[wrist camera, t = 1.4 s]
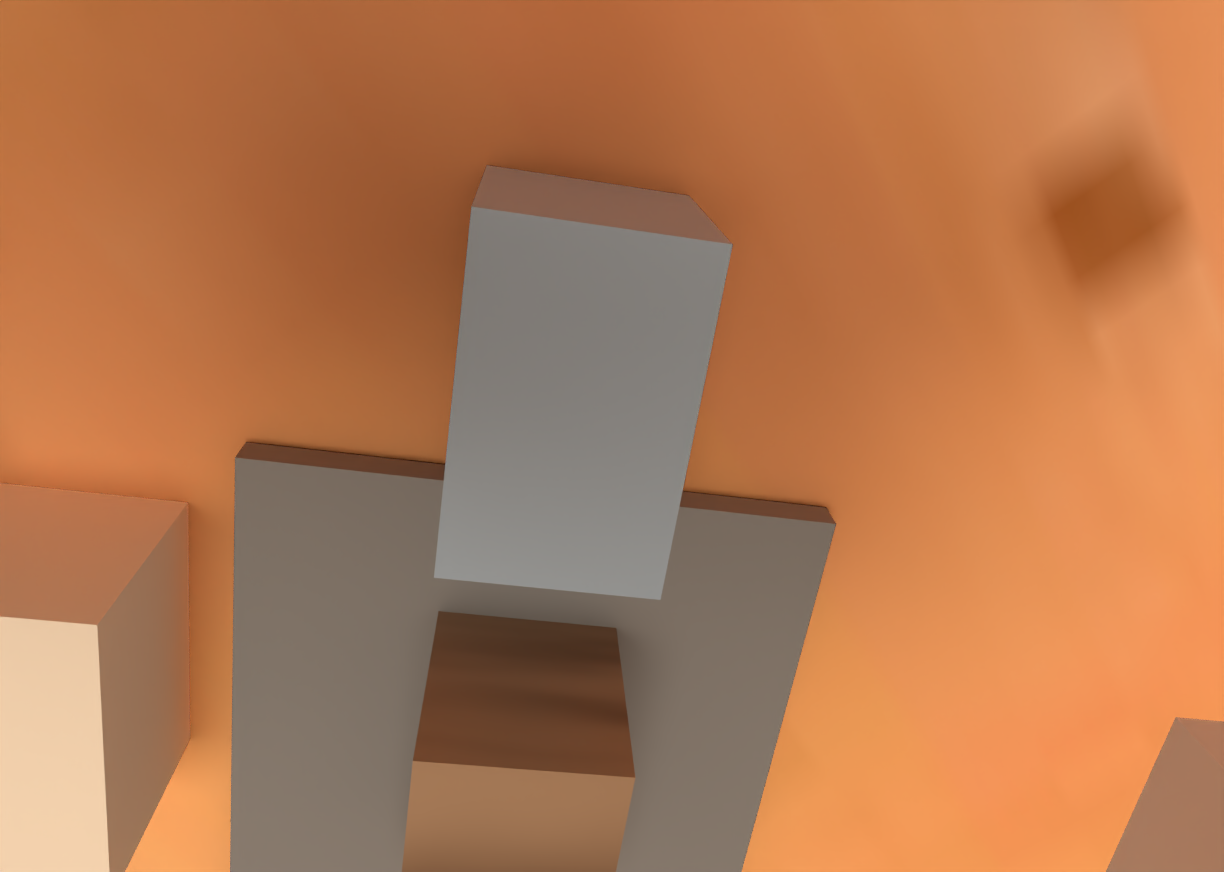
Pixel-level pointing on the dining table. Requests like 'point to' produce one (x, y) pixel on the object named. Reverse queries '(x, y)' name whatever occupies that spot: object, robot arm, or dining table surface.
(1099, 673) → the dining table surface
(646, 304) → the brick top
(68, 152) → the dining table surface
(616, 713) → the brick base
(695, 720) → the build board
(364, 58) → the dining table surface
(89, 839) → the brick
